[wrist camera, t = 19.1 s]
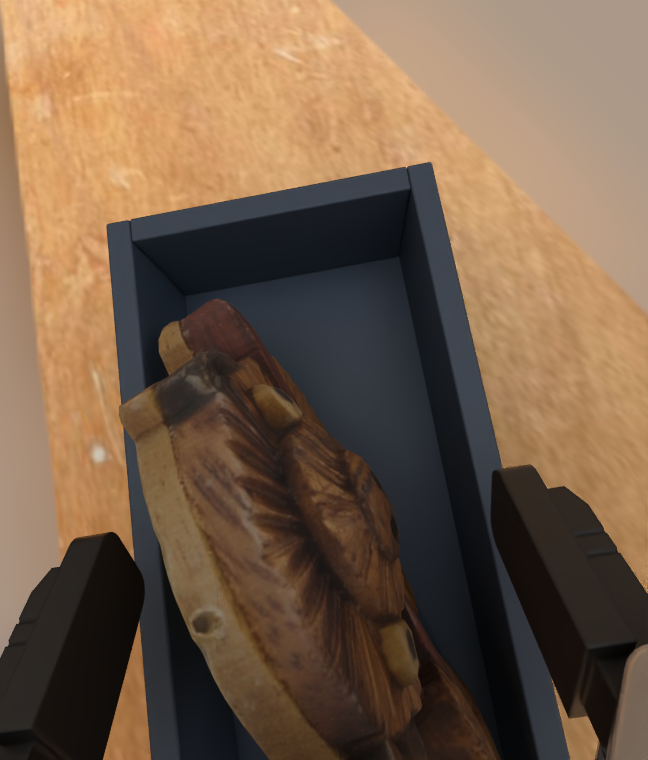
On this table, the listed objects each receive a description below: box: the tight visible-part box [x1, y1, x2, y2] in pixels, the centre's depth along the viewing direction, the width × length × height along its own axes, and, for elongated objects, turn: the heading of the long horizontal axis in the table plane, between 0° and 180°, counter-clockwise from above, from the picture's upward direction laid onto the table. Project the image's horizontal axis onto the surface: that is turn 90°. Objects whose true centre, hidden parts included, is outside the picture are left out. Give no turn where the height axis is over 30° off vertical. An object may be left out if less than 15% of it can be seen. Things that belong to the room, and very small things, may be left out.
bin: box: [107, 162, 570, 760], centre depth 16 cm, size 11×22×6 cm, turn 9°
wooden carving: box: [119, 298, 501, 760], centre depth 13 cm, size 16×5×10 cm, turn 34°
